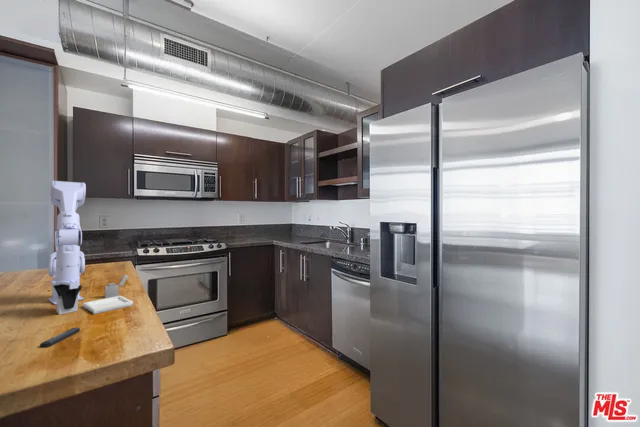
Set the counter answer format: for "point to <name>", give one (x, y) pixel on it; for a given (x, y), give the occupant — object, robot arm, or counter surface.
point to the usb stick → (60, 337)
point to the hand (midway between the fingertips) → (67, 307)
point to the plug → (61, 308)
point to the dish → (107, 304)
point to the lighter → (114, 288)
